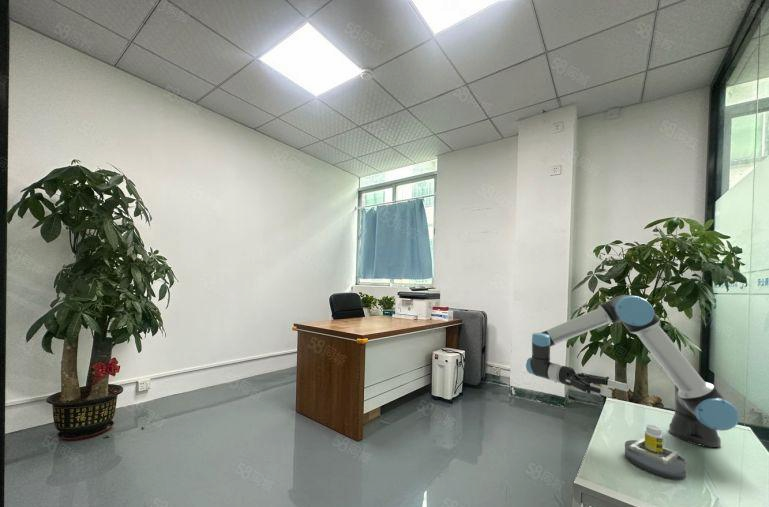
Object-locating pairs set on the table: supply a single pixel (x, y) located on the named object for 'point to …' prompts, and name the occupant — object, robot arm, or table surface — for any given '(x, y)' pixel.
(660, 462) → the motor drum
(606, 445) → the table surface
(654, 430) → the supplement bottle
